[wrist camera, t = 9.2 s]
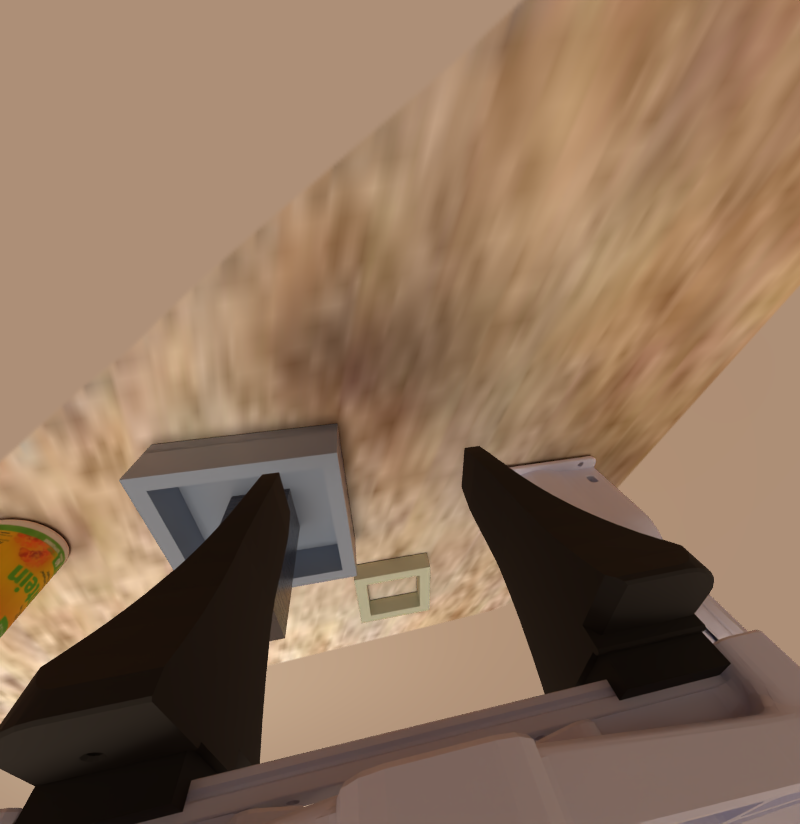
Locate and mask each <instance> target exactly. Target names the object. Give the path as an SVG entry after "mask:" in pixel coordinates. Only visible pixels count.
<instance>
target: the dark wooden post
mask: <svg viewBox="0 0 800 824" xmlns="http://www.w3.org/2000/svg"><path fill="white" fill-rule="evenodd" d="M284 491H285V495H286V498H287V502H288V506H289V509H290V523H289V534H288V541H287V546H286V551H285V555H284V560H283V565H282V569H281V574H280V579H279V583H278V588H277V592H276V597H275V602H274V608H273V615H272V624H271V632H270V641H273V640H278V639H283V638H285V634H286V626H287V619H288V612H289V604H290V597H291V590H292V583H293V575H294V568H295V561H296V553H297V546H298V539H299V531H300V525H299V521H298V517H297V513H296V510H295V506H294V502H293V499H292V495H291V491H290V488H289V489H284ZM244 496H245V495H238V496H232V497H231V499H230V501H229V504H228V506H227V509H226V511H225V513H224V516H223V518H222V521H221V523H222V522H223V521H224V520H225V519H226V518H227V516H228V515H229V514H230V513H231V512H232V510H233V509H234V508H235V507H236V506H237V505H238V503H239V502H240V501H241V500H242V498H243V497H244ZM221 523H220V524H221Z"/></svg>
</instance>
